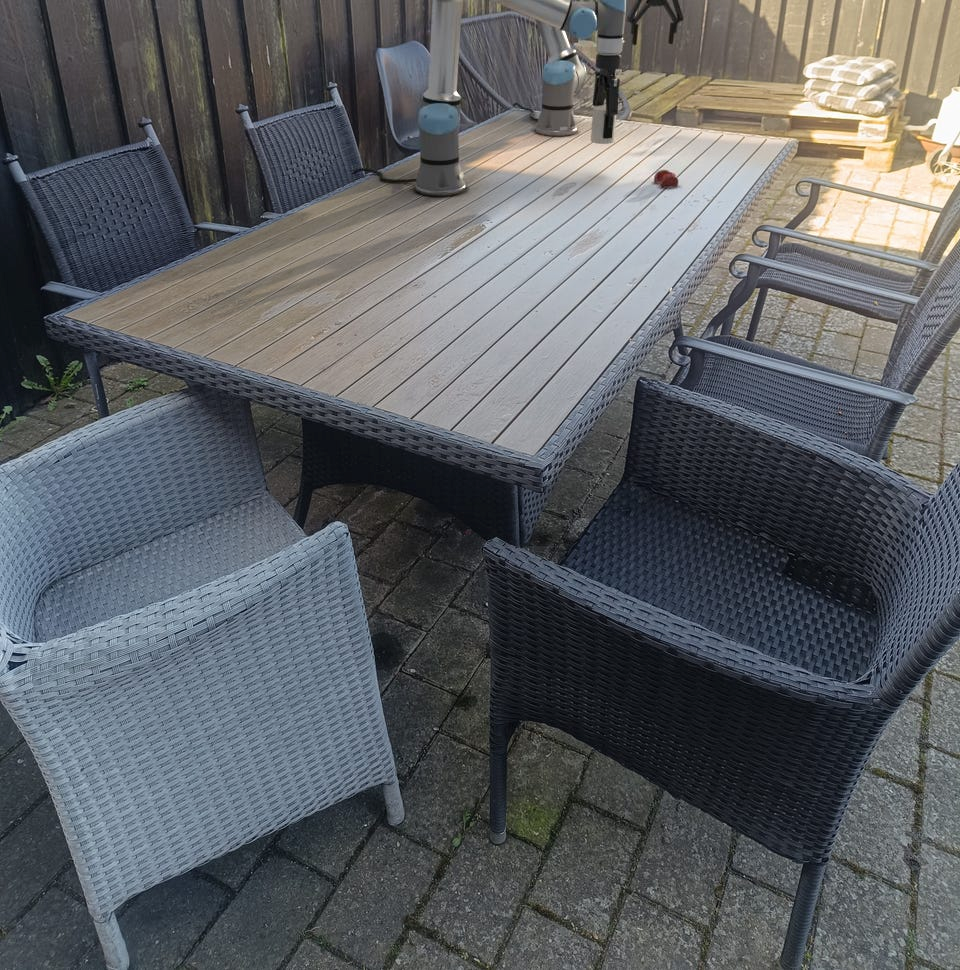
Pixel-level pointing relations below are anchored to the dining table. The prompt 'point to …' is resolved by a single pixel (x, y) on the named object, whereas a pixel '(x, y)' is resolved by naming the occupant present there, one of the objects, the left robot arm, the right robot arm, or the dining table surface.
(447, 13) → the left robot arm
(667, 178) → the red rounded lump
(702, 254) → the dining table surface
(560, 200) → the dining table surface
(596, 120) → the cylinder
